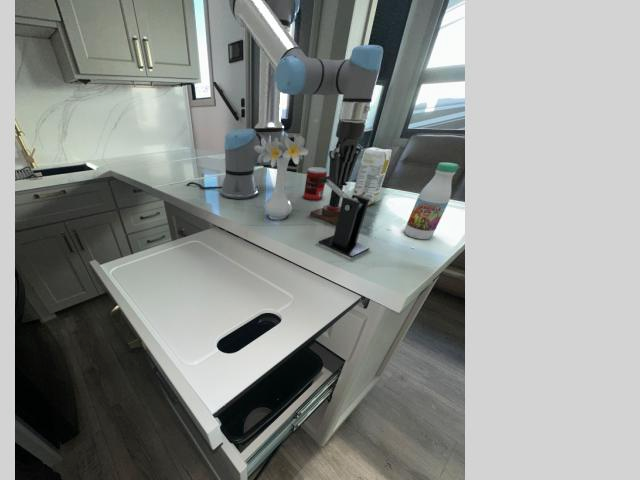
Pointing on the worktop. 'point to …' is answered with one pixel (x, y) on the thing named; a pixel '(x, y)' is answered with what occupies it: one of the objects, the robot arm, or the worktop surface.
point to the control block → (326, 215)
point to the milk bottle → (431, 203)
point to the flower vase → (280, 170)
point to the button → (332, 208)
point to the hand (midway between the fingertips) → (333, 205)
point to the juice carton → (372, 173)
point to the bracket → (348, 228)
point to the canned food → (314, 183)
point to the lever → (336, 188)
